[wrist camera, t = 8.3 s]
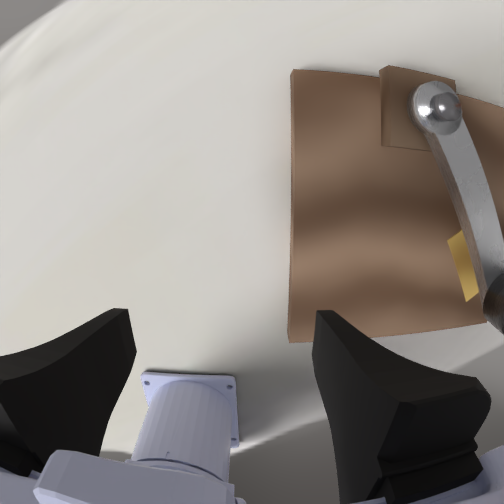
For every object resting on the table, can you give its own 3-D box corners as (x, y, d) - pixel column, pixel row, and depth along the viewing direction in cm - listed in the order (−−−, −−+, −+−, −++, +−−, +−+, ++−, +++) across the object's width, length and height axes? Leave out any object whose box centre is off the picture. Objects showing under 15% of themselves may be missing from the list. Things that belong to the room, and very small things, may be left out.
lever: (392, 98, 15) (446, 82, 10) (438, 75, 15) (496, 58, 9) (477, 323, 20) (518, 362, 14) (510, 294, 19) (555, 327, 14)
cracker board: (478, 314, 24) (495, 330, 21) (287, 331, 24) (291, 354, 21) (501, 106, 18) (525, 104, 15) (290, 67, 18) (296, 54, 15)
